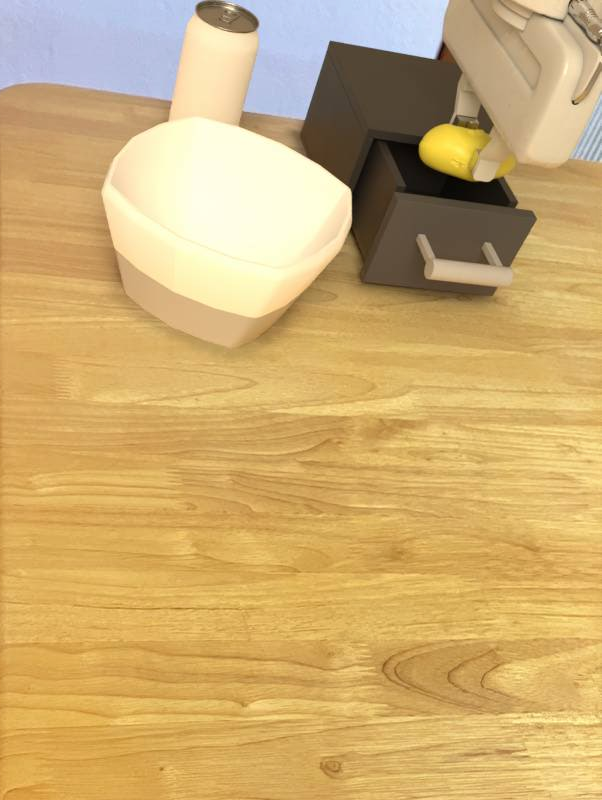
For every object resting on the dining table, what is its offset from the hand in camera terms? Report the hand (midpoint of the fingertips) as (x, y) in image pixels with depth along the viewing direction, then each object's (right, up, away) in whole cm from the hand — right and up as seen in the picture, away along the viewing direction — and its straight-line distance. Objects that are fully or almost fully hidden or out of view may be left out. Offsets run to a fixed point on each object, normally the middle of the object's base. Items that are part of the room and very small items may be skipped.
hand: (467, 156), depth 71 cm
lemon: (0, -1, +1) cm, 2 cm away
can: (-22, +6, +13) cm, 26 cm away
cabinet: (-4, +4, +16) cm, 17 cm away
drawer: (-2, -5, +8) cm, 10 cm away
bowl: (-21, -11, 0) cm, 24 cm away
